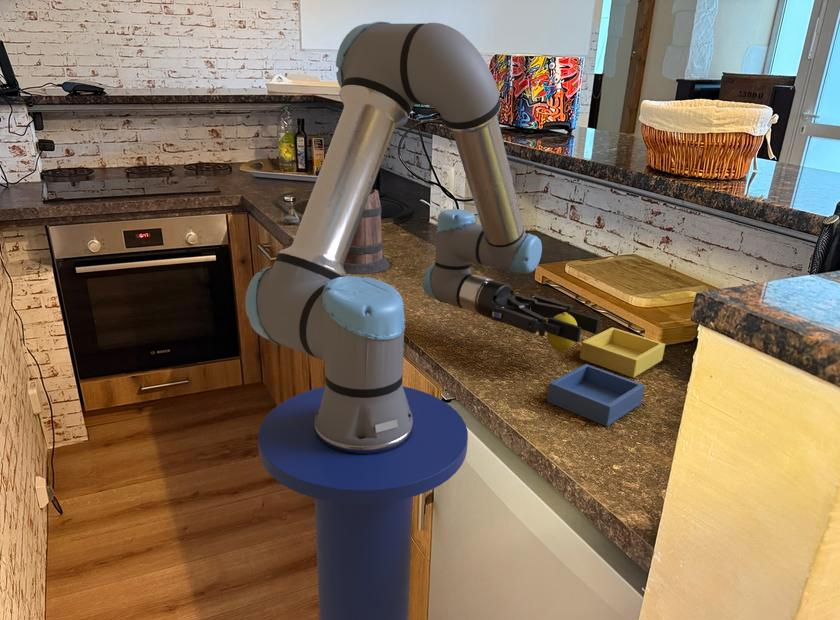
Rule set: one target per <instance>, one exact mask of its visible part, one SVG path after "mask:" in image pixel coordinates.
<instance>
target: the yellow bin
mask: <svg viewBox="0 0 840 620" xmlns="http://www.w3.org/2000/svg"><path fill="white" fill-rule="evenodd" d="M665 347H666V343H664V342H660V341H658V340H655V339H651V338H648V337H645V336H641V335H640V334H639V335H638V334H635V333H632V332H629V331H626V330H623V329H619V328H616V327H613V326H612V327H610V328H607V329H606V330H604V331H602V332H598V333H597V334H595V335H593V336H590V337H588V338H587V339H585V340H583V341H582V342H581V345H580V353H579V359H580V360H582V361H585V362H589V363H591V364H594V365H596V366H599V367H602V368H605V369H608V370H611V371H612V372H613V371H614V372H615V373H619V374H621V375H625V376H627V377H629V378H633V379H634V378H636V377H637V376H639V375H641V374H642V373H644V372H645V371H648V370H649V369H650V368H652V367H654V366H656V365H657V364H659V363H660V362H662V361H663V357H664V353H665Z"/></svg>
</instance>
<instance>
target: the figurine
mask: <svg viewBox="0 0 840 620" xmlns="http://www.w3.org/2000/svg"><path fill="white" fill-rule="evenodd" d="M282 220H283V222H284V223H286V226H288V225H289V224H290V225H292V224H297V223H299V221H300V218H299V216H298V214H297V213H296V211H295V210H294V209H293V207H292V205H291V206H290V207H289V210H288V214H287V215H285V216H284V217H283V218H282Z"/></svg>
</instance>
